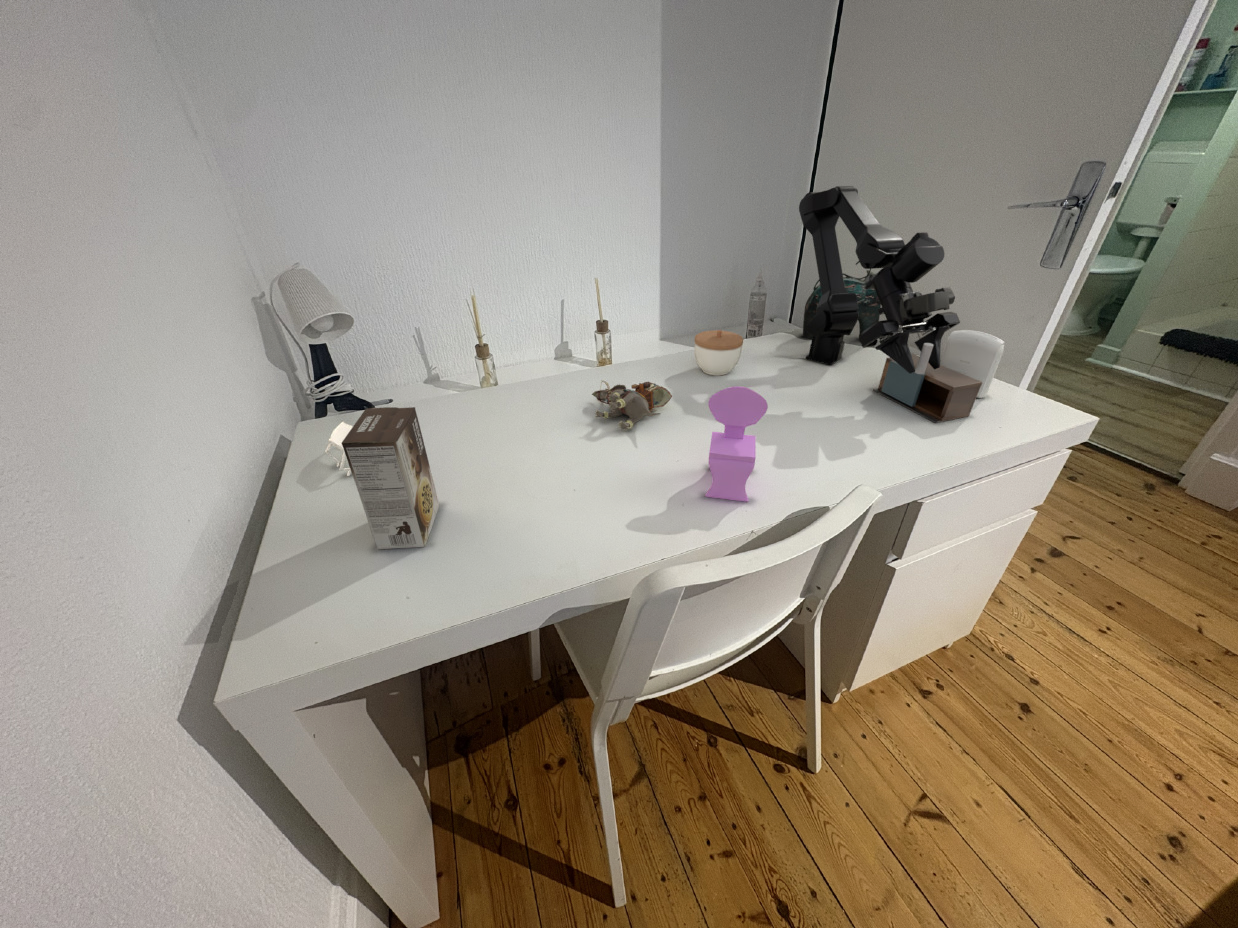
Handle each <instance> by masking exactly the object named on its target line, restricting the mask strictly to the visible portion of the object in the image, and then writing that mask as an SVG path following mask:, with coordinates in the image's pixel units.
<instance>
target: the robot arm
mask: <svg viewBox="0 0 1238 928" xmlns="http://www.w3.org/2000/svg"><path fill="white" fill-rule="evenodd" d="M798 205H799V206H798V212H799V216H800V218H801V223H802V226H803V227H804V228H805V229H806V231H808V232H809V234H811V237H812V243H813V249H814V254H815V261H816V267H817V274H818V280H819V284H820V287H821V293H822V296H821V299H820V301H819V303H818V306H817V315H816V316H815V317H814V318H813V319H812V320H810V321H809V322H808V333H810V334H812V335H813V336H812V338H811V341H810V347H809V352H808V355H806V356H805V358H804V359H805V360H808V361H813V362H815V363H820V364H824V365H830V366H832V365H834V364H835V363H836V362H838V361H839V360H841V359H842V355H843V352H844V348H845V341H844V336H851V334H852V332H853V330H854V329H855V327H856V325H857V323H858V322H859V321H858V317H859V314H858V310H860V309H859V307H858V304H857V295H856V293H849V292H848V291H847V290H846V289H845V285H844V279H843V277H844V275H843V267H842V262H841V256H840V255H841V254H840V250H839V244H838V237H837V230H836V226H837V223H838V222H839V219H841V221H842V222H843V224H844V226H845V227H846V228H847V230H848V231H849V233H850V235H851V236H852V237H853V239H854V241H855V243H856V247H855V254H856V256H857V259H858V261H859V264H860V266H861V268H863V269H865V270H870V269H871V270H874V269H880V270H878V271H877V272H876V273H877V274H873V275H870V276H869V280H868V282H867V283H866V286H865V289H873V288H875V290H876V293H877V295H878V298H879V301H880V303H881V308H880V309H879V310H878V312H879V315H880V316H882V315H884V316H885V319H884V320H879V321H877V322H876V323H874V324H873V325H872V326H870V327H869V328H868V329H866V330H865V331H863V332H862V333H861V337H860V340H859V342H860V344H861V347H862V349H867V348H873V347H875V350H876V351H880V352H882V353H883V354H885V356H887V357H888V358H892V359H893V360H894V361H895V362H896V363H898V364H899V365H900V366H901V367H902V368H904V369H905V370H906V371H907V372H908V373H910V374H911V373H913V372H915V366H914V362H913V359H912V356H911V354H912V353H911V350H910V347H909V338H910V335H913V334H917V337H918V340H916V341H914V345H915V346H916V347H917V348H918V350H919V351H920V352H921V351H922V348H923V345H924V343H931V344H933V348H932V352H931V355H930V358H929V361H928V363H929V364H930V365H931V366H932V367H933V369H938V368H939V367H940V359H941V345H942V338H943V336H944V334H945V333H946V332H947V331H950V330H951V329H953V328H954V327H956V326H958V325H959V324H961V320H960V318H959V316H958V313H957V312H953V311H948V310H950V309H951V307H950V305H953V304H954V302H955V299H956V296H955V294H954V291H953V290H952V288H951V286H944V287H941V288H936V289H935V290H934V292H930V293H926V294H923V293H921V291H914V289H913V287H912V285H911V284H912V283H916V282H919V281H920V280H921V279H922V278H923V277H924V276H926V275H927V274H929V272H931V271H932V270H933V269H935V268H936V267H937V266H938V265H939V264H941V263H942V261H943V260H944V258H945V249H944V247H943V246H942V245H941V244H940V243H939V242H938V241H937V240H936V239H934V238H932V237H930V236H929V233H928V232H927V231H923V232H922V231H921V232H916V233H915V234H914V235H913V236H912V237H911V239H910V240H909V241H908V242H907V243H906V244H905V241H904V239H903V238H902V237H901V236H900V235H899V234H898V233H896V232H895V231H894V230H891V229H889V228H887V227H884V226H882V225H881V224H880V223H879V221H878V220H877V219H876V217H875V216H874V214H873V213H872V212H871V209H869V208H868V206H867V205H866V203H865V202H864V201H863V199H862V198H861V196H860V195H859V191H858V188H857V187H855V186H853V185H839V186H838V185H836V186H835V187H832V188H830V189H826V190H823V191H811V192H807V193H806V194H804V197H803V198H802V199H801V200H800V202H799V204H798ZM938 311H946V312H938ZM934 312H938V313H936V314H934V315H933V313H934ZM925 319H926V320H925ZM878 340H879V341H878ZM878 342H879V344H878V345H877V343H878Z"/></svg>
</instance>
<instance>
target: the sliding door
mask: <svg viewBox="0 0 1238 928" xmlns="http://www.w3.org/2000/svg"><path fill="white" fill-rule="evenodd" d="M932 348H933V344H931V343H924V345H923V348H922V351H920V354H919V356H920V357H919V360H918V364H917V367H916V370H915V372H913V373H911V374H910V373H908V372H907V371H906V370H905V369H904V368H902V367H901V366H900V365H899V364H898V363H896V362H895V361H890V363H889V366H888V370H887V373H886V377H885V380H884V384H883V387H882V390H881V391H882V392H884V393H886V394H888V395H890V396H892V397H894V398H896V399H898V400H899V401H901V402H903V403H905V404H907V405H909V406H911V407H913V406H915V404H916V401H917V398H918V395H919V392H920V389H921V386H922V383H923V380H924V377H925V374H924V373H925V370H926V367H927V364H928V361H929V358H930V355H931V352H932Z"/></svg>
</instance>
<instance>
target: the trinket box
mask: <svg viewBox="0 0 1238 928" xmlns="http://www.w3.org/2000/svg"><path fill="white" fill-rule="evenodd" d="M693 342H694V358H695V361H696V363H697V365H698V366H699V368H700V369H701V371H702V372H703V373H704V374H706V375H710V376H718V377H719V376H726V375H728V374H729V373H730V371H732V370H733V369H735V367H736V365H738V363H739V362H740V361H739V360H740V358H741V354H742V350H743V344H744V338H743V336H742V335H740V334H738V333H735V332H732V331H728V330H727V331H726V330H722V329H717V330H705V331H701V332H699V333H697V334H695V336H694V341H693Z"/></svg>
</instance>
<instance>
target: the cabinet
mask: <svg viewBox="0 0 1238 928" xmlns="http://www.w3.org/2000/svg"><path fill="white" fill-rule="evenodd" d="M911 356H912V359H913V362H914V366H915V370H916V367H917V364H918V360H919V357H920V355H918V354H915V353H911ZM890 361H894V360H893V359H892V358H890V357H886V358H885V363H884V366H883V369H882V373H881V376H880V379H879V384H878V387H877V388H873V389H872V391H873V392H875V393H877V394H879V395H881V396H882V397H884V398H886V399H888V400H890V401H893V402H894V403H896V404H897V405H900V406H901V407H903V408H905V409H908V410H909V411H911V412H912V413H915V414H916V415H919V416H921V417H923V418H925V419H927V420H928V421H930V422H932V423H934V424H939V423H942V422H948V421H952V420H957V419H963V418H968V417H970V415H971V413H972V410H973V407H974V405H975V401H976V400H977V398H978V397H977V395H978V392H979V390H980V387H981V385H982V382H981V381H979V380H976V379H974V378H971V377H969V376H966V375H964V374H961V373H959V372H957V371H954V370H952V369H949V368H947V367H944V366H942V365H940V367H939V368H938V369H933V367H932V366H931V365H930V364H929V363H928V364H927V367H926V370H925V373H924V374H925V377H924V380H923V383H922V386H921V389H920V392H919V395H918V398H917V401H916V404H915V406H913V407H911V406H909V405H907V404H905V403H903V402H901V401H899V400H898V399H896V398H894V397H892V396H890V395H888V394H886V393H884V392H882V391H881V390H882V387H883V384H884V380H885V377H886V373H887V370H888V366H889V363H890Z"/></svg>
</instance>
